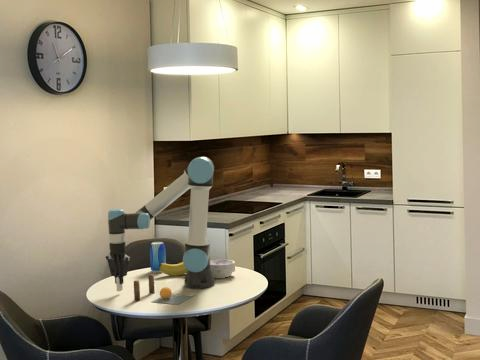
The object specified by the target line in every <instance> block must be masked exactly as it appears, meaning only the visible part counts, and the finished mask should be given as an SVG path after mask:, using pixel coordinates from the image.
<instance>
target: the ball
mask: <svg viewBox="0 0 480 360" xmlns="http://www.w3.org/2000/svg"><path fill="white" fill-rule="evenodd" d="M171 294H173V293H172V290H171V288H170V287H168V286H164V287H162V288H161V289H160V291H159V296H160V297H162V298H163V299H168V298H170V297H171Z"/></svg>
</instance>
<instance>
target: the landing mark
mask: <svg viewBox="0 0 480 360" xmlns="http://www.w3.org/2000/svg"><path fill="white" fill-rule="evenodd" d="M193 297H194V296H193V295H184V294H176V293H175V294H174V293H172V294H171V297H170V298H168V299H163V298H162V297H161V296H160V297H158V298H156V299H154V300H152V301H151V303H157V304H167V305H177V306H179V305H181V304H182V303H184V302H186V301H189V299H191V298H193Z"/></svg>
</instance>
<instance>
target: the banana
mask: <svg viewBox="0 0 480 360" xmlns="http://www.w3.org/2000/svg"><path fill="white" fill-rule="evenodd" d="M159 268H160V270H161V271H162V272H161V273H163V274H165V275H167V276H172V277H173V276H175V277H178V276H183V275H186V273H187V269H186V267H185V266H184V264H183V261H182V262H179V263H177V264H176V263H175V264H169V263H166V264H164V263H160V264H159Z"/></svg>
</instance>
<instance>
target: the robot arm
mask: <svg viewBox="0 0 480 360" xmlns="http://www.w3.org/2000/svg"><path fill="white" fill-rule="evenodd" d="M214 172H215V164H214V162H213V160H211V159H210V158H209V157H207V156H198V157H195V158H193V159H192V160H191V161H190V163H189V164H188V166H187V168H186V169H184V170H183V174H182V175H180V176H179V177H178V178H176V179H175V180H174V181H173V182H172V183H170V184H169V185H168V186H166V187H165V188H164V189H163V190H161V192H159V193H158V194H157V195H156V196H154V197H153V198H152V199H150V200H149V201H148V202H147V203H145V204H144V205H142V206H141V208H139V209H138V210H137V211H136V212H134V213H132V212H131V213H127V212H126V213H125V210H124V209H120V208H118V209H110V210H109V211H108V212H107V214H108V216H107V221H108V222H107V224H108V226H107V227H108V242H109V244H108V245H109V250H110V251H109V254H108V255H106V256H105V259H106V261H107V263H108V268H109V271H110V276H111V277H114V284H115V285H116V292H121V291H123V290H124V289H123V284H124V283H125V282H124V277H126V276H127V275H128V270H129V265H130V264H129V262H130V260H131V256H129V255H127V252H126V249H127V248H126V247H127V246H126V242H125V241H126V230H144V229H145V230H146V229H147V230H148V229H149V228H150V226H151V220H152V219H153V218H155V217H156V216H157V215H158V214H160V213H161V212H163V210H165V209H166V208H167V207H169V206H170V205H171V204H173V202H175V201H177V199H178V198H180V197H181V196H182V195H183V194H185V193H186V192H187V191H189V190H190V198H189V217H188V218H189V220H188V233H187V234H188V235H187V236H188V237H187V239H186V240H185V241H184V248H183V249H184V250H183V252H184V253H183V257H182V262H183V264H184V266H185V267H186V269H187V273H186V274H185V278H184V281H183V283H184V287H185V288H188V289H207V288H211V287H213V286H215V283H216V282H215V278H214V277H213V275H212V272H211V269H210V261H211V248H210V247H211V244H210V240H209V239H207V233H208V232H207V231H208V218H209V217H208V214H209V213H208V212H209V195H210V190H211V188H212V187H213V183H214Z"/></svg>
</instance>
